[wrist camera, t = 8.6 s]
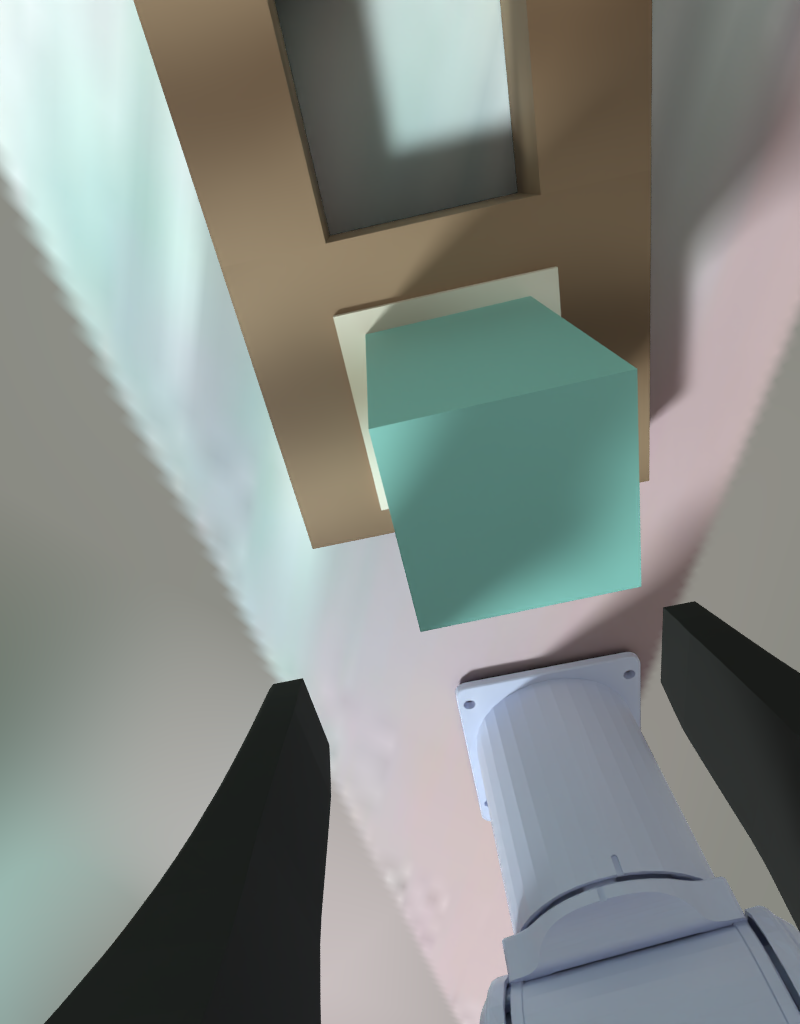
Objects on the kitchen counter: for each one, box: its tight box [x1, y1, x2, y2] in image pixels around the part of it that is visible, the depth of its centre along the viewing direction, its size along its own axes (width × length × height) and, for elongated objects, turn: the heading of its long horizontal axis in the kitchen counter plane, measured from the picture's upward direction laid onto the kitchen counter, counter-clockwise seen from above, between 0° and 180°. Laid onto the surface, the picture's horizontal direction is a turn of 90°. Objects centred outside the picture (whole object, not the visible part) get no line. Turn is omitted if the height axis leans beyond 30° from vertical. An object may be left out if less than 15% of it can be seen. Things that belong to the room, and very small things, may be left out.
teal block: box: [365, 296, 641, 632], centre depth 14 cm, size 4×4×7 cm
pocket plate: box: [134, 0, 652, 549], centre depth 16 cm, size 16×11×3 cm
